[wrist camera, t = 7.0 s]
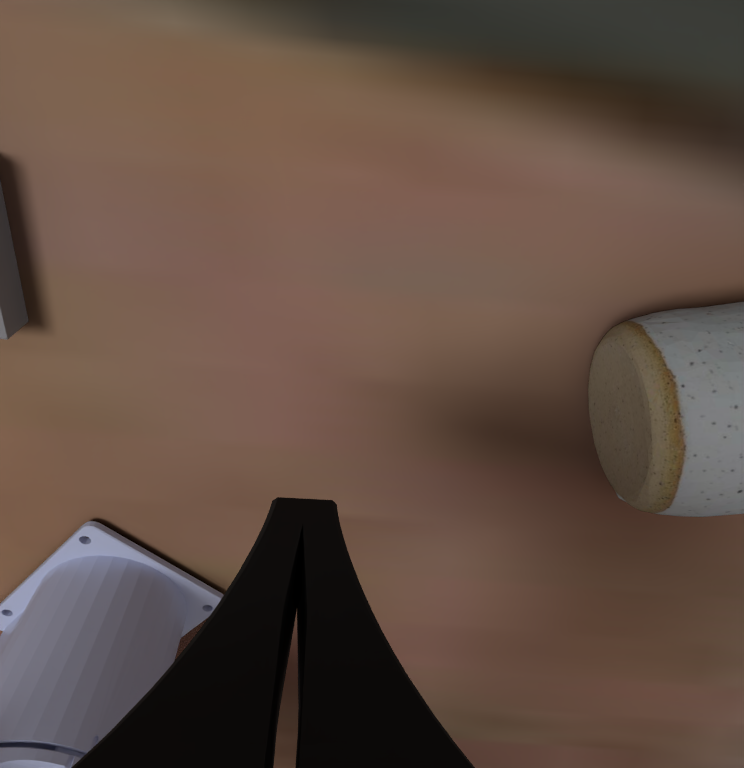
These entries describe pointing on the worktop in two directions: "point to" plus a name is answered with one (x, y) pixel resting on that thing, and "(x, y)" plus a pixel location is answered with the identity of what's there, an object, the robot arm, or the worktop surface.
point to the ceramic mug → (672, 410)
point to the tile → (9, 281)
